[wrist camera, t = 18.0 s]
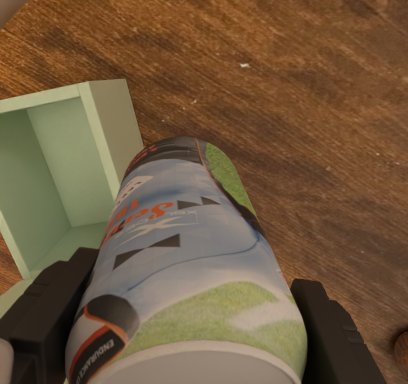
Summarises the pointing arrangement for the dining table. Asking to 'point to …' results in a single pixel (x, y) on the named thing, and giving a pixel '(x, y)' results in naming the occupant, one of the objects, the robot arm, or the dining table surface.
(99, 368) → the beverage can
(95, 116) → the case
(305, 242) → the dining table surface
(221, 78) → the dining table surface
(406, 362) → the vase
